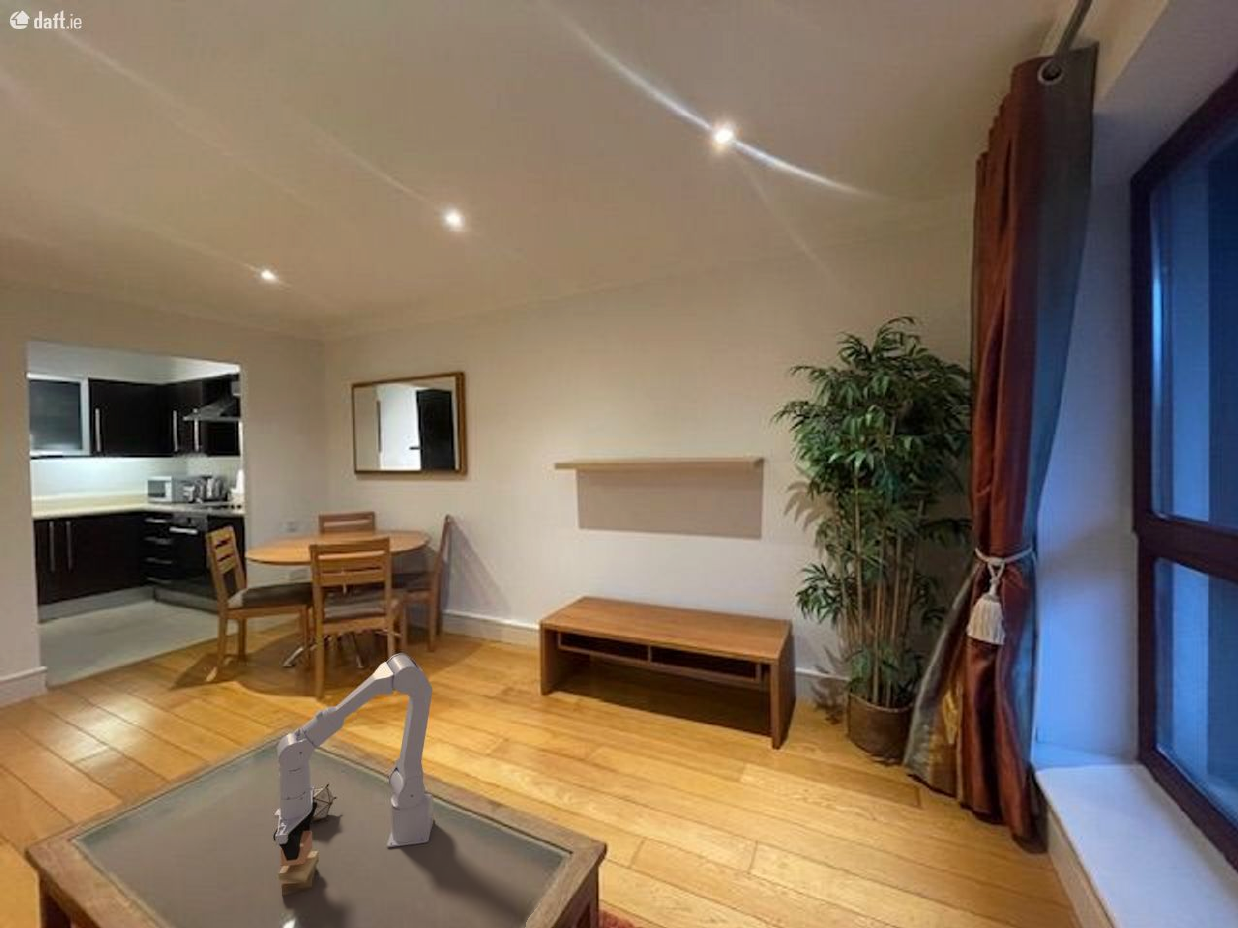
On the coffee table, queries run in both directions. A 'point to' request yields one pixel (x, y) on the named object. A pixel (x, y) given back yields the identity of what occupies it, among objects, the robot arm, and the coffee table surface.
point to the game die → (322, 802)
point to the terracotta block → (304, 850)
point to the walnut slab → (298, 885)
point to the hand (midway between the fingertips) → (297, 849)
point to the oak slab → (299, 870)
